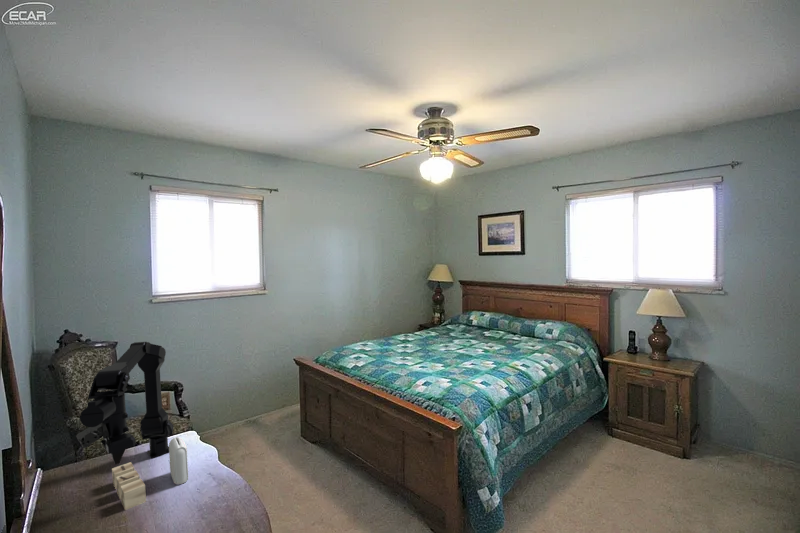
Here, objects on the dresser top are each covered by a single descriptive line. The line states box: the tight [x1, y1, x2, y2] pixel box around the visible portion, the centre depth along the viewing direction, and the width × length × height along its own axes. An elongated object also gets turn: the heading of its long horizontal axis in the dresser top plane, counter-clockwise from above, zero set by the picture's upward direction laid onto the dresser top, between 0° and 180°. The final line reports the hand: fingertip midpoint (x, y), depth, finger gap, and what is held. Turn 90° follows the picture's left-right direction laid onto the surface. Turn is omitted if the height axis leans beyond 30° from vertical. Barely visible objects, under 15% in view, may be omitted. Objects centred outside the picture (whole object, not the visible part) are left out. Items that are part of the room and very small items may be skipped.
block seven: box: [116, 469, 141, 501], centre depth 115 cm, size 5×5×5 cm
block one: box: [111, 462, 135, 489], centre depth 120 cm, size 5×5×5 cm
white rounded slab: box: [168, 436, 189, 485], centre depth 122 cm, size 10×4×12 cm, turn 39°
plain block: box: [120, 478, 147, 511], centre depth 110 cm, size 5×5×5 cm
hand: (116, 463), depth 112 cm, fingers closed
